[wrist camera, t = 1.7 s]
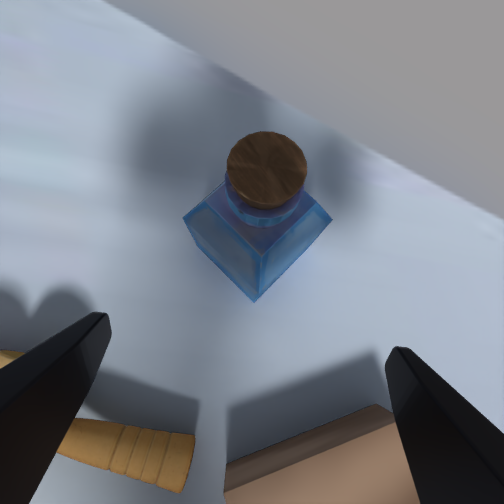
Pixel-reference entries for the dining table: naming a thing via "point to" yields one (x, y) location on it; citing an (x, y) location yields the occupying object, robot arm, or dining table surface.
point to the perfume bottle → (258, 213)
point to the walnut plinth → (328, 466)
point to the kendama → (126, 448)
